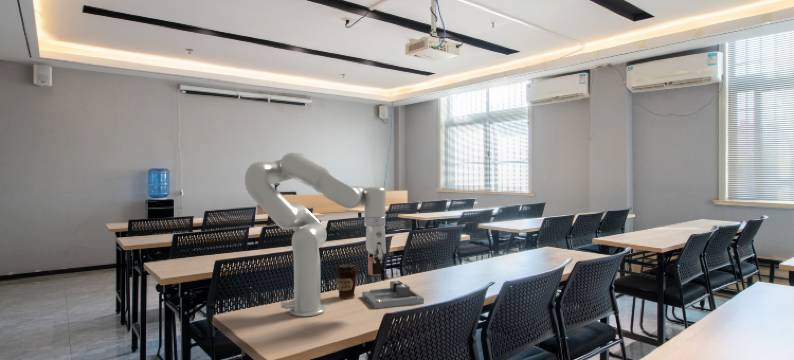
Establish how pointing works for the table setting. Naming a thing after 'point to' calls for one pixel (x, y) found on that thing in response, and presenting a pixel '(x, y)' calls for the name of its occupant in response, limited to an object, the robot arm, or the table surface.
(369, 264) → the cap
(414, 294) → the breaker panel
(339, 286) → the coffee cup
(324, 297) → the table surface
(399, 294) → the toggle
